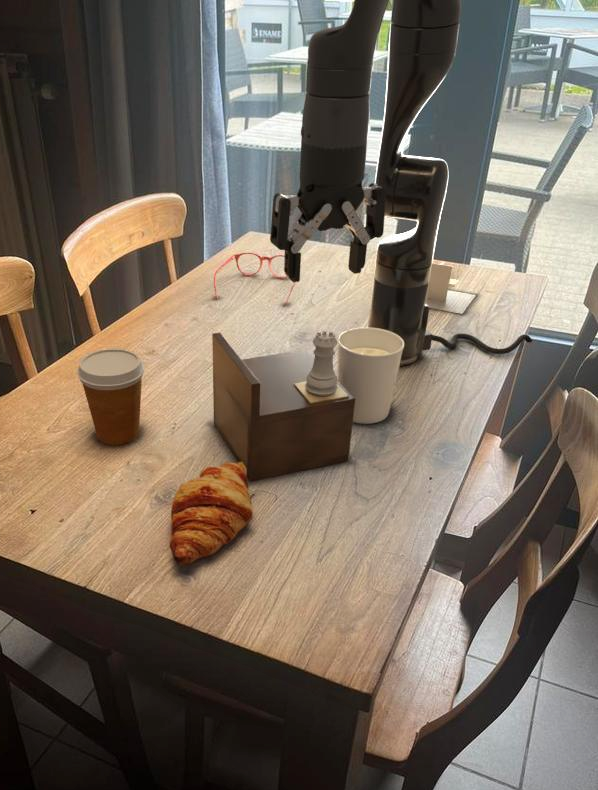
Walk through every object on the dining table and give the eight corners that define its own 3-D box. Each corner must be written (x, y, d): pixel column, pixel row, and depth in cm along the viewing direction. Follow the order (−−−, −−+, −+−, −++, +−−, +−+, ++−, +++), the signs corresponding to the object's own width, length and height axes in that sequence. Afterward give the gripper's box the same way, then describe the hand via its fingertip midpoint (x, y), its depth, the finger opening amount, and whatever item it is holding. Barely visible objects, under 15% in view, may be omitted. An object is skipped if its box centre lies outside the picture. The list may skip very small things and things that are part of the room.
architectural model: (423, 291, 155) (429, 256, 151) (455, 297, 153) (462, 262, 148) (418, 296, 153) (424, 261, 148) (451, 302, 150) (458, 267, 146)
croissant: (220, 492, 103) (194, 445, 100) (282, 476, 98) (257, 426, 95) (161, 589, 86) (128, 537, 83) (232, 576, 81) (199, 520, 78)
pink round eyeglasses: (303, 278, 161) (305, 256, 158) (291, 306, 149) (293, 282, 146) (228, 272, 164) (228, 250, 161) (210, 298, 152) (209, 275, 149)
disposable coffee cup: (79, 425, 111) (69, 353, 104) (139, 412, 114) (132, 342, 107) (95, 457, 104) (85, 383, 97) (158, 442, 107) (152, 370, 100)
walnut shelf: (303, 407, 115) (308, 319, 107) (348, 461, 103) (359, 366, 94) (213, 423, 111) (212, 333, 102) (249, 481, 99) (251, 384, 90)
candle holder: (398, 401, 117) (408, 332, 110) (388, 431, 110) (398, 359, 102) (338, 391, 120) (345, 323, 113) (325, 420, 112) (331, 349, 105)
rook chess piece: (335, 398, 97) (341, 343, 92) (302, 395, 97) (306, 340, 93) (338, 383, 100) (344, 329, 95) (306, 380, 101) (310, 326, 96)
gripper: (289, 149, 78) (284, 294, 87) (406, 139, 81) (388, 278, 91) (264, 135, 83) (261, 272, 93) (374, 126, 87) (360, 259, 97)
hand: (324, 275), depth 92 cm, fingers open, 8 cm apart
